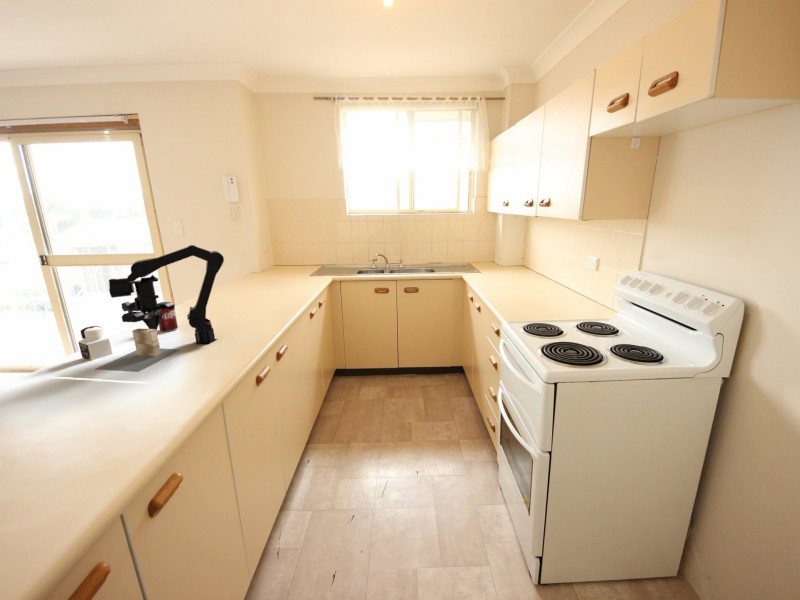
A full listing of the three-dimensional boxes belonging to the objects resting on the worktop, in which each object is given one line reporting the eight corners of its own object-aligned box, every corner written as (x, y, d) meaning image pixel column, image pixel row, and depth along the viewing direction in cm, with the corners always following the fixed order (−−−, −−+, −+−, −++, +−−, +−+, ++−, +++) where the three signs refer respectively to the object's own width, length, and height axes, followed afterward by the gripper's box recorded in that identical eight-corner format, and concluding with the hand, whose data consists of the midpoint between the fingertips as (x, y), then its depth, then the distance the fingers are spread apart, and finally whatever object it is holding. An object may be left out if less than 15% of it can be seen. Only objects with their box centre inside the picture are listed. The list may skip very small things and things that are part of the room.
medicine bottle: (82, 358, 135) (74, 329, 132) (104, 352, 141) (97, 323, 138) (91, 362, 132) (83, 331, 129) (113, 355, 138) (106, 326, 135)
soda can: (181, 327, 170) (177, 303, 167) (170, 332, 163) (165, 307, 160) (167, 327, 171) (163, 303, 168) (156, 332, 164) (151, 307, 161)
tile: (161, 353, 137) (156, 329, 134) (155, 356, 134) (150, 331, 132) (143, 352, 138) (137, 328, 136) (137, 355, 136) (132, 330, 133)
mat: (182, 350, 141) (181, 349, 141) (138, 373, 122) (138, 371, 121) (142, 349, 144) (142, 347, 143) (94, 370, 124) (93, 369, 124)
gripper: (148, 288, 145) (155, 324, 148) (104, 299, 127) (114, 340, 131) (172, 288, 143) (179, 325, 147) (131, 300, 125) (140, 341, 129)
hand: (153, 332), depth 138 cm, fingers closed
